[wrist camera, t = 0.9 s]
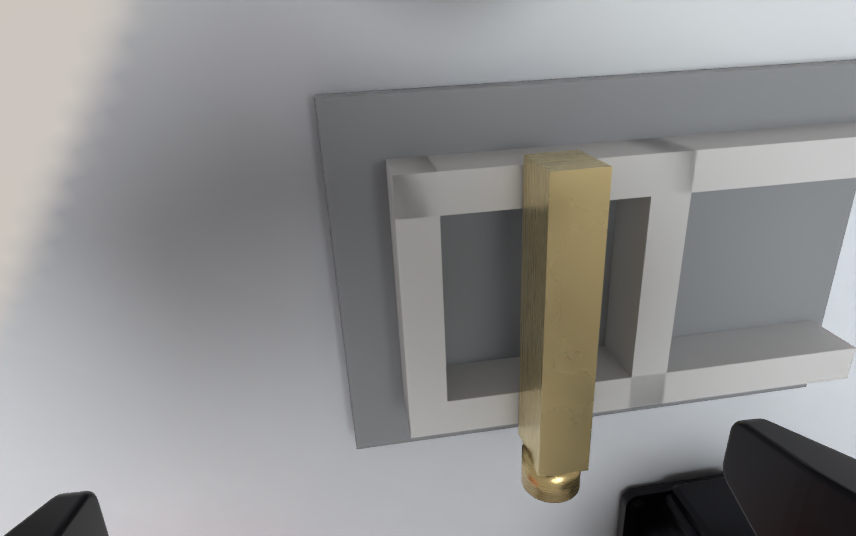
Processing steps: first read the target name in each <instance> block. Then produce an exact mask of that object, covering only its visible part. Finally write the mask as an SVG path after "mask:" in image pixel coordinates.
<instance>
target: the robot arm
mask: <svg viewBox="0 0 856 536" xmlns="http://www.w3.org/2000/svg"><path fill="white" fill-rule="evenodd" d="M723 472H724V475H718V476H712V477H705V478H699V479H693V480H686V481H680V482H673V483H667V484H660V485H654V486H648V487H641V488H635V489H631V490H629V491H627V492H626V493H625V494H624V495H623V496H622V499H621V508H620V517H619V526H618V535H617V536H856V459H854V458H852V457H850V456H847V455H845V454H843V453H841V452H838V451H836V450H834V449H831V448H829V447H827V446H825V445H822V444H820V443H818V442H815V441H813V440H811V439H809V438H806V437H804V436H802V435H800V434H797V433H795V432H793V431H790V430H788V429H786V428H784V427H781V426H779V425H777V424H775V423H772V422H770V421H768V420H765V419H750V420H741V421H738V422H735V424H734V425H733V426H732V428H731V431H730V435H729V440H728V444H727V448H726V452H725V457H724V461H723ZM4 536H109V535H108V532H107V528H106V525H105V522H104V518H103V515H102V512H101V508H100V505H99V502H98V499H97V497H96V495H95V494H94V493H93V492H90V491H81V492H72V493H63V494H59V495H57V496H55V497H54V498H52V499H51V500H49V501H48V502H47V503H46V504H44V505H43V506H42V507H40V508H39V509H38V510H36V511H35V512H34V513H33V514H31V515H30V516H29V517H27V518H26V519H25V520H24V521H22V522H21V523H20V524H18V525H17V526H16V527H15V528H13V529H12V530H11V531H9V532H8V533H7V534H5V535H4Z"/></svg>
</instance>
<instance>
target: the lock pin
mask: <svg viewBox="0 0 856 536" xmlns="http://www.w3.org/2000/svg"><path fill="white" fill-rule="evenodd" d="M611 178H612V166H610V165H608V164H606V163H604V162H602V161H600V160H598V159H596V158H594V157H592V156H590V155H588V154H586V153H584V152H582V151H580V150H569V151H556V152H544V153H531V154H524V162H523V216H522V270H521V324H520V378H519V431H518V433H519V435H520V438H521V440H522V442H523V445H522V473H521V481H522V485H523V487H524V489H525V490H526V491H527V492H528V493H529V494H530V495H531V496H533V497H534V498H536V499H538V500H541V501H544V502H549V503H560V502H565V501H568V500H570V499H571V498H573V497H574V496H575V495H576V494H577V493H578V491H579V487H580V474H581V471H585V470H588V465H589V453H590V440H591V428H592V415H593V403H594V391H595V378H596V366H597V353H598V341H599V328H600V316H601V303H602V291H603V278H604V266H605V253H606V241H607V228H608V216H609V203H610V191H611Z"/></svg>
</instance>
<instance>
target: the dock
mask: <svg viewBox="0 0 856 536" xmlns="http://www.w3.org/2000/svg"><path fill="white" fill-rule="evenodd" d="M315 106H316V114H317V122H318V131H319V139H320V147H321V156H322V164H323V172H324V181H325V189H326V197H327V206H328V214H329V222H330V231H331V239H332V247H333V255H334V264H335V272H336V280H337V289H338V297H339V305H340V314H341V322H342V330H343V339H344V347H345V355H346V364H347V372H348V380H349V388H350V397H351V405H352V413H353V422H354V430H355V438H356V447H357V449H361V448H368V447H376V446H383V445H390V444H397V443H404V442H412V441H419V440H426V439H433V438H440V437H448V436H455V435H462V434H469V433H476V432H484V431H491V430H498V429H505V428H512V427H519V378H520V324H521V270H522V216H523V162H524V154H531V153H544V152H556V151H569V150H580V151H582V152H584V153H586V154H588V155H590V156H592V157H594V158H596V159H598V160H600V161H602V162H604V163H606V164H608V165H610V166H612V178H611V191H610V203H609V216H608V228H607V241H606V253H605V266H604V278H603V291H602V303H601V316H600V328H599V341H598V353H597V366H596V378H595V391H594V403H593V415H592V416H599V415H606V414H613V413H620V412H628V411H635V410H642V409H649V408H656V407H664V406H671V405H678V404H685V403H692V402H700V401H707V400H714V399H721V398H728V397H736V396H743V395H750V394H757V393H764V392H772V391H779V390H786V389H793V388H800V387H806V385H807V383H814V382H822V381H829V380H836V379H843V378H847V377H848V374H849V370H850V367H851V363H852V360H853V356H854V353H855V349H856V348H855V347H854V346H852V345H850V344H849V343H847V342H845V341H844V340H842V339H841V338H839V337H837V336H836V335H834V334H832V333H831V332H829V331H828V330H826V329H824V328H823V327H821V326H822V322H823V318H824V314H825V310H826V306H827V302H828V298H829V294H830V290H831V286H832V282H833V278H834V274H835V270H836V266H837V262H838V258H839V254H840V251H841V247H842V243H843V239H844V235H845V231H846V227H847V223H848V219H849V215H850V211H851V207H852V203H853V199H854V195H855V191H856V60H843V61H827V62H812V63H796V64H781V65H766V66H750V67H735V68H719V69H704V70H689V71H673V72H658V73H642V74H627V75H611V76H596V77H581V78H565V79H550V80H534V81H519V82H503V83H488V84H473V85H457V86H442V87H426V88H411V89H396V90H380V91H365V92H349V93H334V94H318V95H315Z"/></svg>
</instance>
